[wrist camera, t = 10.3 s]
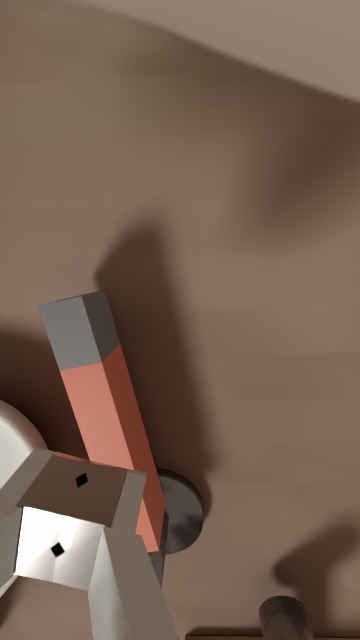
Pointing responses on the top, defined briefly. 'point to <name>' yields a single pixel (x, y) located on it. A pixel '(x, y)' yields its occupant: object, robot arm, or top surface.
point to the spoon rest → (15, 448)
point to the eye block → (249, 638)
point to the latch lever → (104, 396)
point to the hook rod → (284, 619)
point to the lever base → (177, 518)
